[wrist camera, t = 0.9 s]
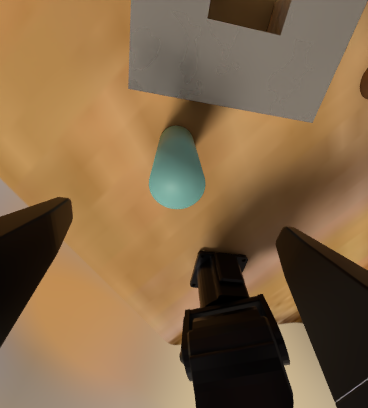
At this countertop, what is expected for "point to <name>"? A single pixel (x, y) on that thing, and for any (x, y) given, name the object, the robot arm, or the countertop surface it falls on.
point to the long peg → (176, 170)
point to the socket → (241, 54)
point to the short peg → (364, 85)
